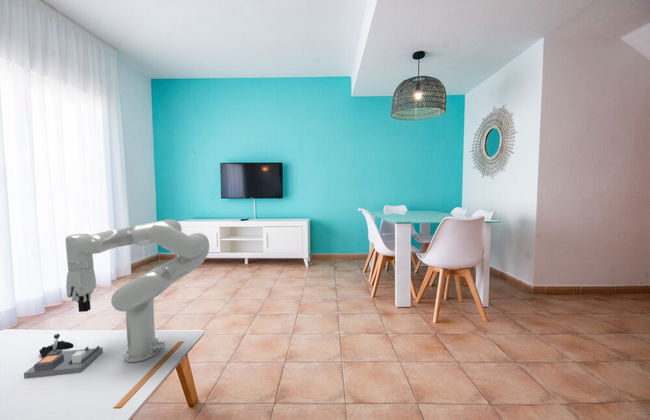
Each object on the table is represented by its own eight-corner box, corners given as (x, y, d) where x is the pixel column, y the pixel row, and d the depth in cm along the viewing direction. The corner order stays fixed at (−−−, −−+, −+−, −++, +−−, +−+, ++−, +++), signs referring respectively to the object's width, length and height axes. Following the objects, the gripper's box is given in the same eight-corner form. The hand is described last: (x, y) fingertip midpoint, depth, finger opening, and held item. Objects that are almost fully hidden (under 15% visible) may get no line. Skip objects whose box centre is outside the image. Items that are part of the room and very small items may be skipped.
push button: (59, 359, 105) (59, 355, 105) (51, 366, 101) (50, 361, 101) (47, 360, 105) (47, 356, 105) (38, 367, 101) (38, 362, 101)
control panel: (102, 352, 115) (101, 341, 115) (80, 372, 102) (79, 360, 102) (53, 356, 112) (52, 346, 112) (24, 378, 99) (23, 366, 99)
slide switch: (86, 357, 108) (86, 350, 107) (81, 362, 105) (80, 354, 105) (77, 358, 107) (77, 351, 107) (72, 363, 104) (71, 355, 104)
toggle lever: (58, 349, 111) (61, 333, 113) (55, 350, 110) (58, 333, 111) (53, 350, 111) (56, 333, 113) (49, 351, 109) (52, 334, 111)
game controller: (48, 357, 110) (37, 346, 111) (44, 366, 111) (33, 355, 112) (75, 344, 120) (65, 334, 121) (71, 352, 120) (61, 342, 122)
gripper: (82, 261, 115) (86, 304, 116) (54, 271, 100) (59, 320, 101) (103, 260, 116) (106, 302, 117) (78, 270, 101) (82, 318, 103)
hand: (84, 310), depth 109 cm, fingers closed
